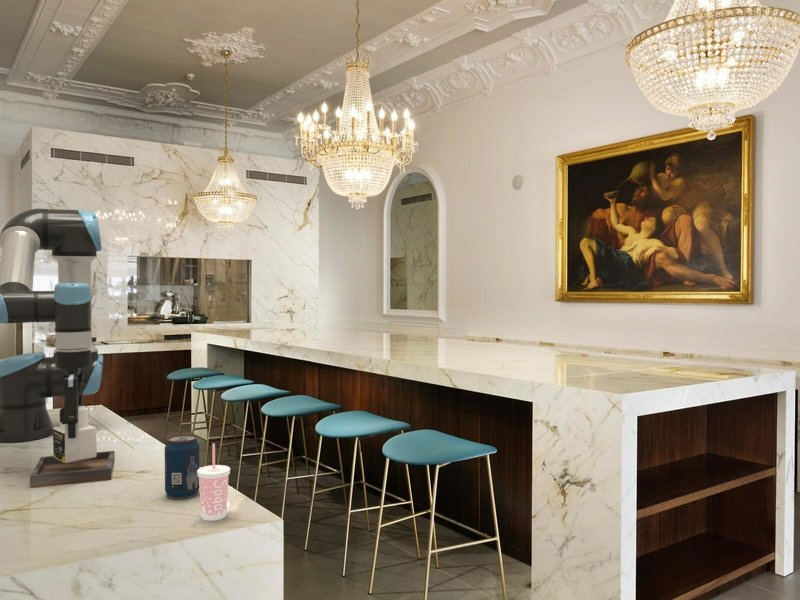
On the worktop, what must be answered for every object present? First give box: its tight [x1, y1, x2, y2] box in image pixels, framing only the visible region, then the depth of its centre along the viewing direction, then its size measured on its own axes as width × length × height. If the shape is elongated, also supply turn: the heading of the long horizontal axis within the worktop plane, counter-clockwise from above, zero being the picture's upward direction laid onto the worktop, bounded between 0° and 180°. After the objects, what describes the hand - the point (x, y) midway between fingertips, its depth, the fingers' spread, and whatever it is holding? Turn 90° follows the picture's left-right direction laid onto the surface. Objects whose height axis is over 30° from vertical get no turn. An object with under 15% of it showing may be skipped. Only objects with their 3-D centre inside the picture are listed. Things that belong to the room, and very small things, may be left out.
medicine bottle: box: [52, 404, 98, 463], centre depth 150 cm, size 7×7×12 cm
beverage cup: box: [197, 442, 231, 521], centre depth 124 cm, size 6×6×14 cm
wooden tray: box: [29, 450, 116, 489], centre depth 150 cm, size 16×16×2 cm
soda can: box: [164, 434, 201, 500], centre depth 136 cm, size 7×7×12 cm
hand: (74, 446), depth 150 cm, fingers closed on medicine bottle, 9 cm apart
